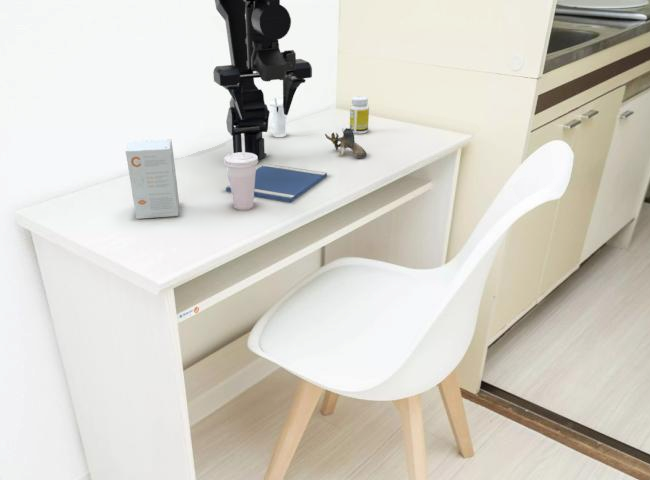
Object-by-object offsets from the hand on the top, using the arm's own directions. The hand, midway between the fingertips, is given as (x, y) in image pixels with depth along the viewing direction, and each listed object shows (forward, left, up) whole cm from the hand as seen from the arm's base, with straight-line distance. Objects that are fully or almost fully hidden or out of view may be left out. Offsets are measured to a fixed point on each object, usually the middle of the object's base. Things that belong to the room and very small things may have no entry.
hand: (264, 117), depth 131 cm
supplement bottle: (+4, +43, -13) cm, 45 cm away
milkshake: (-13, +31, -13) cm, 36 cm away
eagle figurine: (+9, +24, -13) cm, 29 cm away
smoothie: (+3, -15, -13) cm, 20 cm away
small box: (-10, -24, -13) cm, 30 cm away
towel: (+3, -1, -13) cm, 14 cm away
